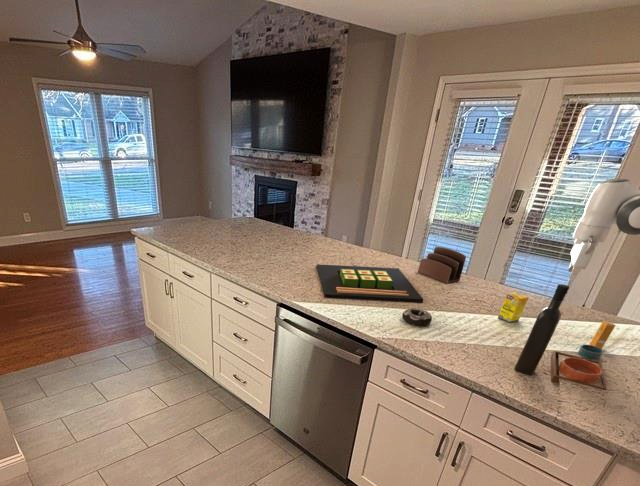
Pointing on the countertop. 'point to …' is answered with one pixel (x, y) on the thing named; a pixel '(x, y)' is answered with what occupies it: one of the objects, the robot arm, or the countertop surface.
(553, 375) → the tray
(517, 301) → the supplement box
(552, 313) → the wine bottle
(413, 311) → the donut
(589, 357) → the small bowl
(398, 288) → the sushi set
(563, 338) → the countertop surface
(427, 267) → the letter holder
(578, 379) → the big bowl
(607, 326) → the supplement box
